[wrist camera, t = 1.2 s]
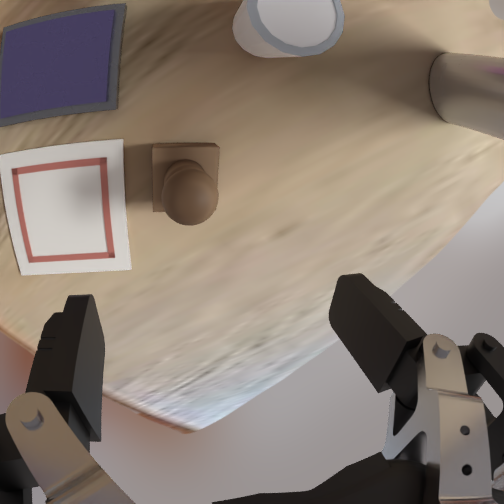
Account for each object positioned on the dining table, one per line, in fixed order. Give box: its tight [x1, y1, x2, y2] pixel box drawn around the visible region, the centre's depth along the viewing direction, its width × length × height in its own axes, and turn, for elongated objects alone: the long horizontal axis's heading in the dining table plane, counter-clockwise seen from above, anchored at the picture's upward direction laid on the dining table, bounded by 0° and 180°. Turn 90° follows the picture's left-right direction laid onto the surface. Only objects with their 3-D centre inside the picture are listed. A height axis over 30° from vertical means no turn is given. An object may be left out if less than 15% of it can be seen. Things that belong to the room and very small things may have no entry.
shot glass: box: [232, 0, 345, 58], centre depth 18 cm, size 7×7×7 cm
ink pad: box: [0, 3, 127, 127], centre depth 16 cm, size 11×9×2 cm
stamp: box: [152, 143, 220, 225], centre depth 21 cm, size 5×5×9 cm
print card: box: [0, 139, 132, 275], centre depth 23 cm, size 12×12×1 cm
